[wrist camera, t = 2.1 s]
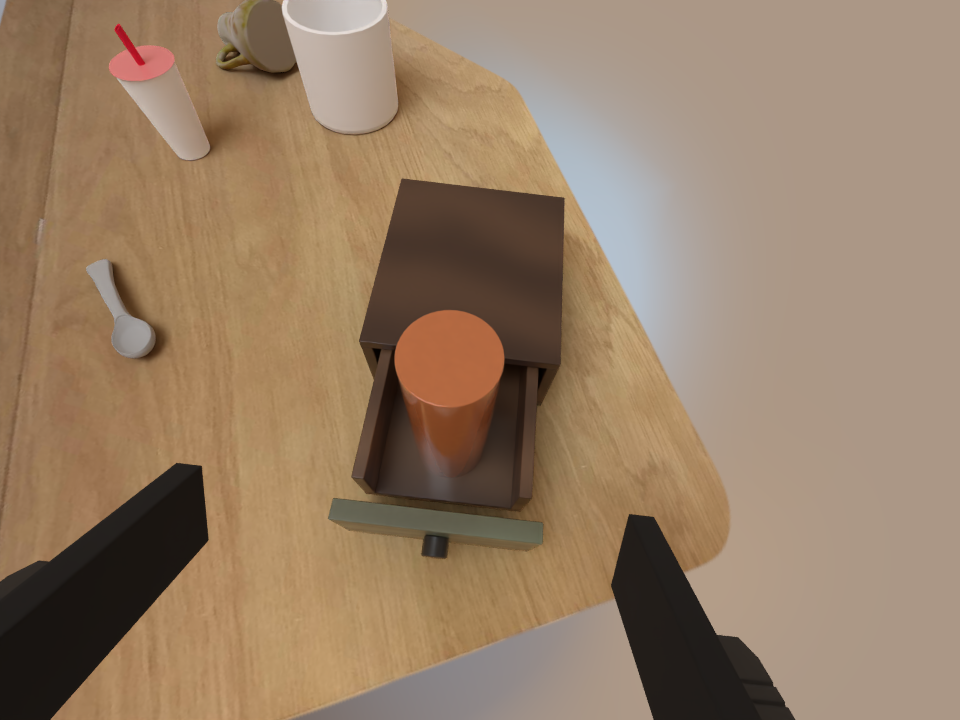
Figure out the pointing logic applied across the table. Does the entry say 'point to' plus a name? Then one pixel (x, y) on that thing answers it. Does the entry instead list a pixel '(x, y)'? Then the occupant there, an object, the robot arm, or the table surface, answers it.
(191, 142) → the cup
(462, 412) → the orange cylindrical post
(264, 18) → the mug
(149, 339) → the spoon
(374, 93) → the mug
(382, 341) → the cabinet
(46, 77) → the table surface
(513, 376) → the drawer
